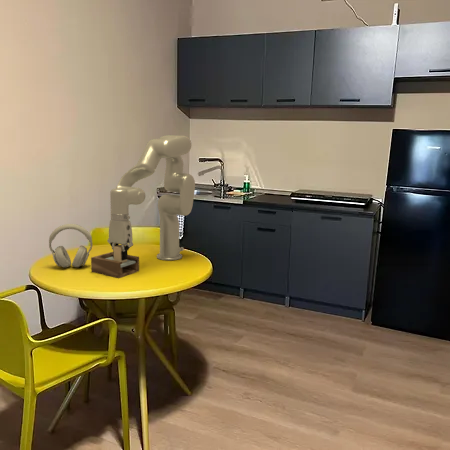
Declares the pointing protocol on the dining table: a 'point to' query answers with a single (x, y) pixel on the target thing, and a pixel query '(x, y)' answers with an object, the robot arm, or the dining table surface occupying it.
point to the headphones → (61, 253)
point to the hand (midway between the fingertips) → (120, 258)
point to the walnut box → (113, 266)
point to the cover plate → (118, 257)
